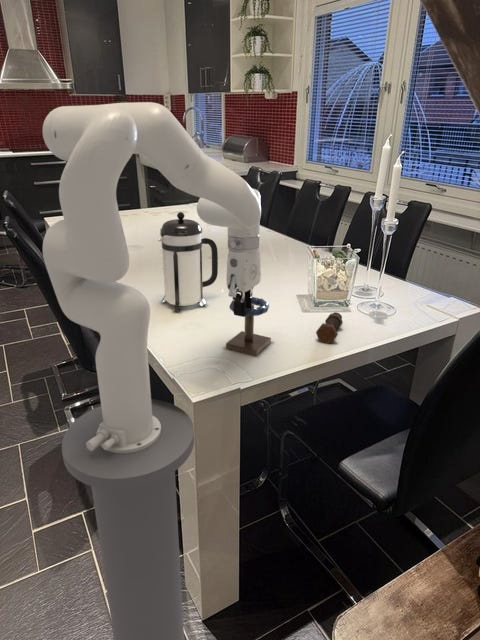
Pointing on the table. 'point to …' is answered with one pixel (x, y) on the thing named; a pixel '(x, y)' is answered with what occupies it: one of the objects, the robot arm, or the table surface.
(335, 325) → the bolt
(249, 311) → the ring
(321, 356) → the table surface
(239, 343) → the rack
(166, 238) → the coffee press
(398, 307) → the table surface
